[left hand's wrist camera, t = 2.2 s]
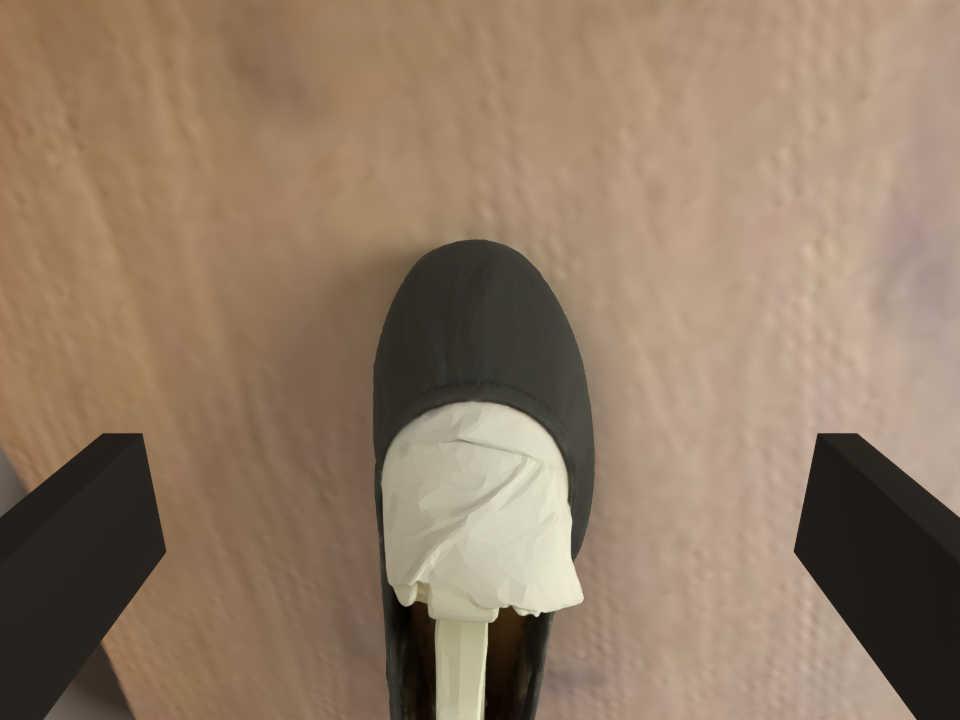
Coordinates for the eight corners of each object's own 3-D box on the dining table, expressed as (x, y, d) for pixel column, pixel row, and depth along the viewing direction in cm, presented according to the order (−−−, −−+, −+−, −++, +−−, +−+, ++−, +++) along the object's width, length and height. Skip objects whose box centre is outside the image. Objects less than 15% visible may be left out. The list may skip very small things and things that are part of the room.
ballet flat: (599, 232, 23) (658, 290, 15) (566, 729, 31) (594, 930, 24) (369, 232, 23) (311, 289, 15) (398, 729, 31) (371, 928, 24)
